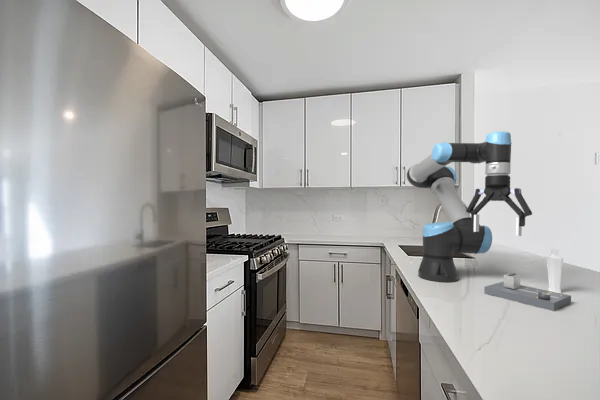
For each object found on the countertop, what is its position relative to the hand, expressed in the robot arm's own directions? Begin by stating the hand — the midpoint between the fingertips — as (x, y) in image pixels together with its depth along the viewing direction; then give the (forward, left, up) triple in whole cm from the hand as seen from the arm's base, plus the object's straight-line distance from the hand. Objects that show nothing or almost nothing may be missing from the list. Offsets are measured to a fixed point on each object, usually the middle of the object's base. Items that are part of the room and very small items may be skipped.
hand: (496, 233), depth 105 cm
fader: (+5, -1, -18) cm, 19 cm away
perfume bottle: (+11, +18, -21) cm, 30 cm away
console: (+9, -1, -21) cm, 23 cm away
